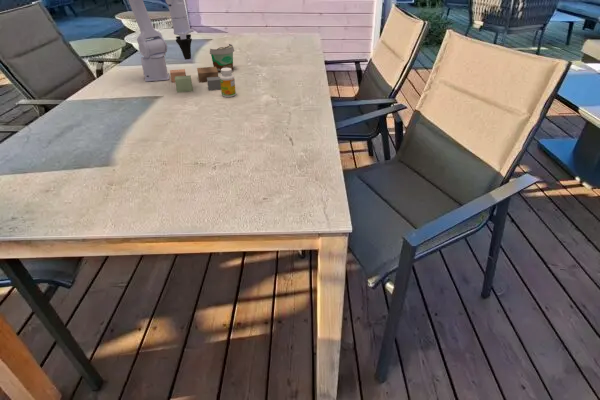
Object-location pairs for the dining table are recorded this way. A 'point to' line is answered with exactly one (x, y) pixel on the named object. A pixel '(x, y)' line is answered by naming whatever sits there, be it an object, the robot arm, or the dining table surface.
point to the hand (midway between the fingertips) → (187, 57)
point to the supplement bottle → (227, 83)
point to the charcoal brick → (214, 83)
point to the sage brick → (183, 83)
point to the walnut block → (206, 73)
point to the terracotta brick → (177, 73)
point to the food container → (222, 57)
